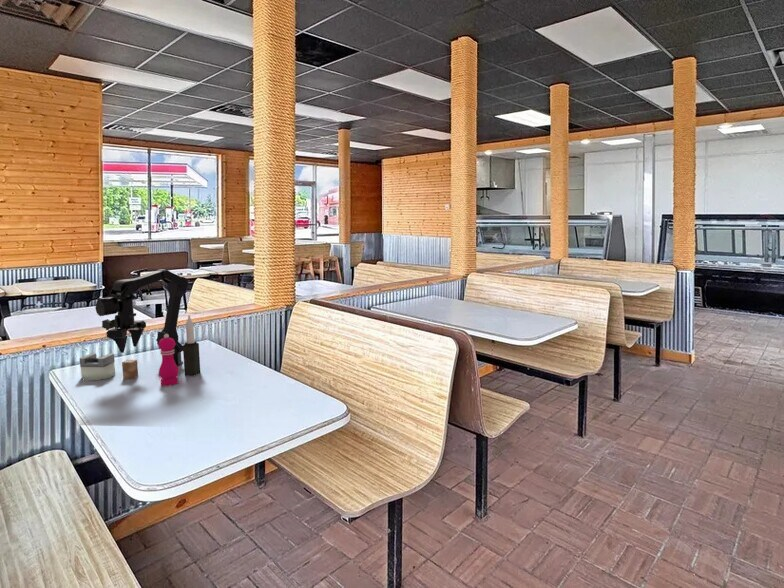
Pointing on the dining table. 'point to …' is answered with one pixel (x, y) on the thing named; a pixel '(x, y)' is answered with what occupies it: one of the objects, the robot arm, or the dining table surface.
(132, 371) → the brown block
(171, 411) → the dining table surface
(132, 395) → the dining table surface
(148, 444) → the dining table surface
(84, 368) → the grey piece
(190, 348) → the candle
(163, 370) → the pepper mill
